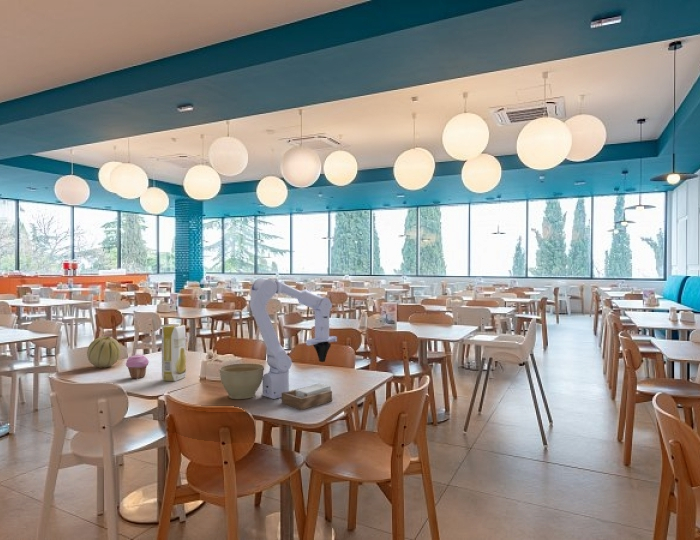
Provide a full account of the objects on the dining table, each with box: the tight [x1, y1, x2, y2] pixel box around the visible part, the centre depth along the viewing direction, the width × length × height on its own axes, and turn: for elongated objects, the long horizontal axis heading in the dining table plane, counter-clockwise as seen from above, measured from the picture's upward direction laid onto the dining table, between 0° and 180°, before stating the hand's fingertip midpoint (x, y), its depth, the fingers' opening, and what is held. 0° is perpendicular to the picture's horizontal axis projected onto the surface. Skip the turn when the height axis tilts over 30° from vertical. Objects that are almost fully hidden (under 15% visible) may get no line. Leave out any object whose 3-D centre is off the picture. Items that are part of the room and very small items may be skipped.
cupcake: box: [125, 354, 150, 379], centre depth 205 cm, size 9×9×10 cm
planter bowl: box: [219, 362, 265, 400], centre depth 175 cm, size 16×16×11 cm
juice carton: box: [161, 322, 187, 382], centre depth 202 cm, size 9×8×24 cm
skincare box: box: [295, 382, 332, 398], centre depth 169 cm, size 6×4×12 cm
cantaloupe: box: [86, 335, 122, 368], centre depth 226 cm, size 15×15×15 cm
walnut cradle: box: [281, 386, 333, 410], centre depth 167 cm, size 14×11×4 cm
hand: (322, 361), depth 187 cm, fingers closed
